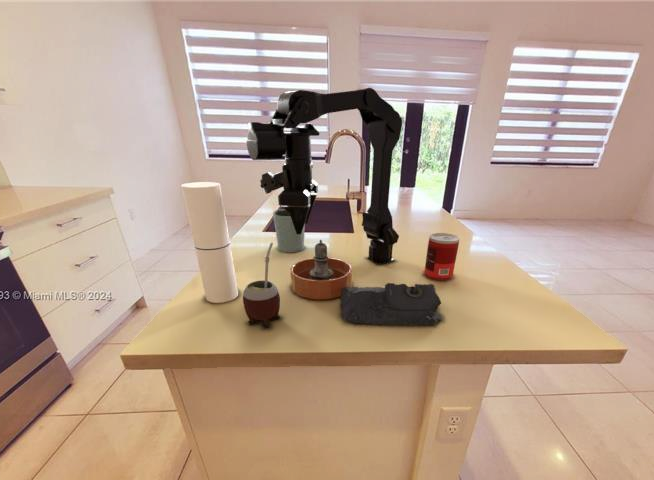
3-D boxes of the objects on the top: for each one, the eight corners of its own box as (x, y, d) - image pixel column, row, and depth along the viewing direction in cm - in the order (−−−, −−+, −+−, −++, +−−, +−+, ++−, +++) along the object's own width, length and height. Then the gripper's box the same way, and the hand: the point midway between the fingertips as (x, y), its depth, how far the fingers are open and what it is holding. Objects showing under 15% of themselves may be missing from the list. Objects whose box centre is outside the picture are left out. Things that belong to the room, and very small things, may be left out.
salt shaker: (330, 291, 76) (329, 244, 71) (307, 289, 77) (304, 242, 72) (335, 281, 82) (335, 237, 76) (314, 279, 82) (312, 235, 77)
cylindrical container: (207, 305, 70) (181, 188, 58) (204, 292, 75) (180, 182, 64) (240, 299, 73) (222, 186, 61) (235, 286, 78) (217, 181, 67)
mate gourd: (249, 333, 61) (237, 260, 54) (244, 313, 67) (233, 246, 60) (287, 325, 63) (281, 255, 56) (279, 307, 70) (272, 242, 63)
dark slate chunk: (340, 291, 77) (340, 273, 75) (428, 292, 78) (431, 275, 76) (339, 325, 64) (339, 304, 62) (446, 326, 64) (450, 306, 62)
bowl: (335, 270, 89) (335, 254, 86) (362, 292, 77) (363, 273, 75) (283, 280, 82) (282, 263, 80) (305, 306, 71) (304, 286, 68)
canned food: (457, 275, 88) (464, 237, 83) (443, 283, 83) (450, 243, 78) (433, 267, 92) (438, 231, 87) (418, 275, 87) (423, 236, 82)
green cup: (291, 241, 111) (289, 207, 105) (313, 247, 106) (311, 211, 100) (269, 249, 104) (265, 212, 98) (291, 255, 98) (288, 217, 93)
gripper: (272, 155, 77) (277, 218, 84) (248, 161, 61) (258, 239, 68) (317, 156, 77) (319, 219, 84) (306, 163, 61) (309, 240, 68)
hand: (302, 228), depth 76 cm, fingers open, 9 cm apart
